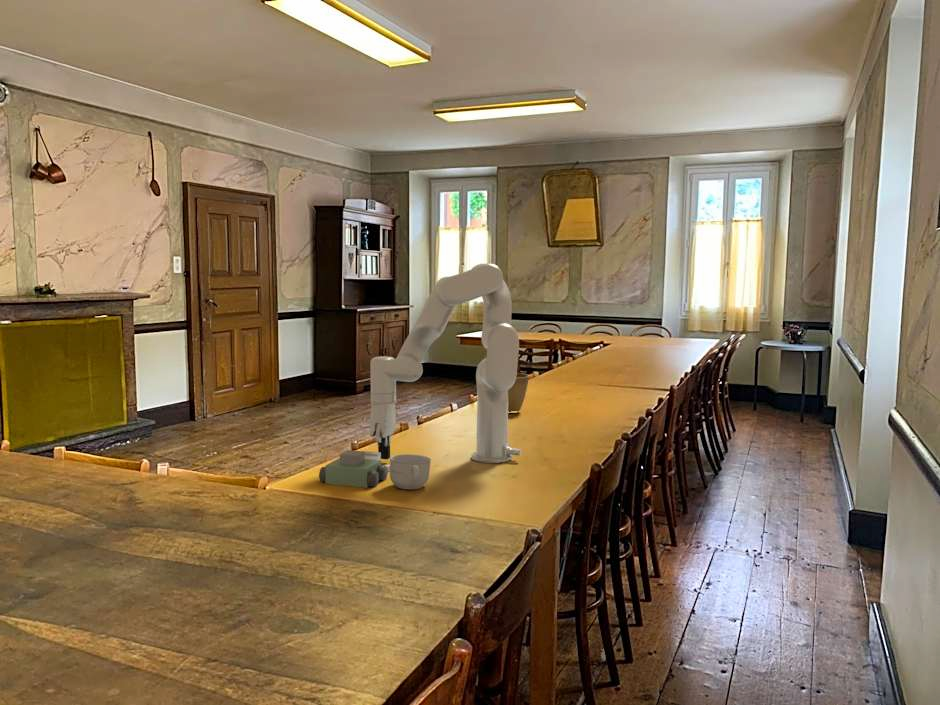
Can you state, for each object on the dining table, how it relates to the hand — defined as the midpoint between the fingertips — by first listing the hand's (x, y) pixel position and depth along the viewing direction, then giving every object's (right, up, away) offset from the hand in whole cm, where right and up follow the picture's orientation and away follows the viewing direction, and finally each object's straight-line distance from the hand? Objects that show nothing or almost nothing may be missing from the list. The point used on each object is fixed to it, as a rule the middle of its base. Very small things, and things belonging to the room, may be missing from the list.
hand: (384, 458), depth 216 cm
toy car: (-5, -3, -16) cm, 17 cm away
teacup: (+10, -4, -26) cm, 29 cm away
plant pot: (+43, +6, +87) cm, 97 cm away
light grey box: (-3, -3, -12) cm, 12 cm away
